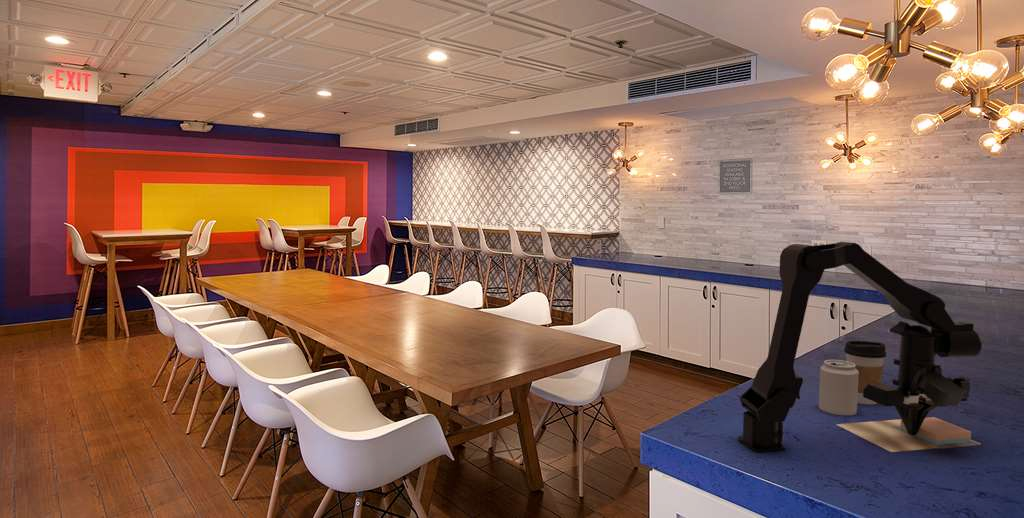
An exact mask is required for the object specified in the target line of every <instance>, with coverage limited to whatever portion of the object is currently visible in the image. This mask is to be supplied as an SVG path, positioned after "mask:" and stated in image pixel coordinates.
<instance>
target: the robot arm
mask: <svg viewBox="0 0 1024 518" xmlns="http://www.w3.org/2000/svg"><path fill="white" fill-rule="evenodd" d="M842 266H845V267H846V268H847V269H849V271H851V272H852V273H854V274H855V275H856V276H857V277H859V278H860V279H862V280H863V281H864V282H866V283H867V284H869V285H870V286H871V287H872V288H873V289H874V290H876V291H878V292H879V293H880V294H881V295H883V297H884V298H886V301H887V303H888V304H889V307H890V308H892V310H894V311H895V313H896V314H897V315H898V316H899V317H900V318H902V319H904V320H906V321H910V322H913V323H916V325H915V324H914V325H913V324H912V325H910V323H908V322H904V321H901V320H900V321H899V322H898V323H897V324H895V325H893V326H892V327H891V328H889V332H890V333H893V334H896V335H899V336H900V342H899V343H900V344H899V357H898V358H893V365H896V366H898V375H897V376H898V377H897V378H893V379H892V385H894V386H891V385H888V384H886V383H883V382H881V383H874V384H867V385H866V386H864V389H863V397H864V398H867V399H869V400H871V401H874V402H876V403H877V404H878V405H880V406H881V405H882V406H884V407H895V409H896V411H897V413H898V415H899V417H900V419H902V421H903V423H904V426H905V428H906V430H907V432H908V434H910V435H912V436H914V435H917V433H918V431H919V429H920V427H921V425H922V423H923V421H924V419H925V418H927V416H928V414H929V413H930V411H932V410H934V409H936V408H938V407H940V408H946V407H949V406H953V407H958V406H959V405H960V403H961V402H967V401H968V398H969V397H970V392H971V385H970V381H969V380H968V379H967V378H965V377H961V376H960V377H954V378H953V379H952V377H946V376H944V375H943V373H942V372H943V371H942V370H943V369H942V368H941V364H940V365H939V364H937V363H936V355H937V356H938V357H940V358H975V357H977V356H978V355H979V354H980V353H981V350H982V342H981V338H980V337H979V335H978V333H977V331H975V329H974V327H975V325H974V324H973V323H972V322H971V323H970V322H967V321H957V322H954V320H953V319H952V317H951V316H950V315H949V313H948V312H947V310H946V303H945V301H944V300H943V299H942V298H940V297H939V296H937V295H935V294H933V293H931V292H929V291H927V290H925V289H922V288H920V287H917V286H915V285H912V284H911V283H908V282H906V281H905V280H904V279H903V278H901V277H900V276H899V275H897V273H895V272H893V271H892V270H890V269H889V268H888V267H886V266H885V264H883V263H881V262H880V261H879V260H878V259H876V258H875V257H874V256H872V255H871V254H869V252H867V251H865V250H864V249H863V247H862V246H860V244H859V243H856V242H851V241H850V242H849V241H838V242H836V243H835V242H834V243H827V244H818V245H810V244H809V245H808V244H802V243H801V244H800V243H793V244H789V245H787V246H786V247H785V248H783V249H782V251H781V253H780V256H779V271H778V273H779V277H780V281H781V287H782V291H781V296H780V299H779V304H778V308H777V313H776V318H775V321H774V322H775V323H774V326H773V330H772V335H771V341H770V345H769V349H768V354H767V357H766V359H765V361H763V363H762V364H761V366H760V367H759V368H758V369H757V371H756V374H755V377H754V378H753V381H752V384H751V386H750V387H749V388H748V389H747V390H745V392H743V394H741V395H740V396H739V402H740V403H741V407H742V408H744V409H745V410H747V411H743V421H742V436H741V435H740V436H737V440H738V441H740V442H741V443H743V444H744V445H746V446H747V447H748V448H750V449H751V450H753V451H754V452H756V453H758V452H759V453H760V452H771V451H773V452H774V451H781V450H782V451H783V450H786V448H787V446H785V445H784V444H782V443H783V435H784V422H785V421H786V419H787V416H788V414H789V411H790V409H792V408H793V407H794V406H795V404H796V402H797V400H800V399H801V397H800V396H801V395H800V393H801V392H800V391H801V388H802V385H803V383H804V381H803V380H804V378H803V377H801V376H800V375H798V374H796V372H795V360H796V356H797V351H798V347H799V342H800V340H801V339H800V338H801V333H802V329H803V325H804V321H805V316H806V312H807V307H808V303H809V298H810V294H811V293H812V291H813V290H814V289H815V287H816V286H817V285H818V284H819V282H820V281H821V279H822V277H823V275H824V272H825V270H828V269H829V270H830V269H836V268H839V267H842ZM917 324H918V325H917ZM925 326H926V327H925ZM927 327H930V328H931V329H929V328H927Z"/></svg>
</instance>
